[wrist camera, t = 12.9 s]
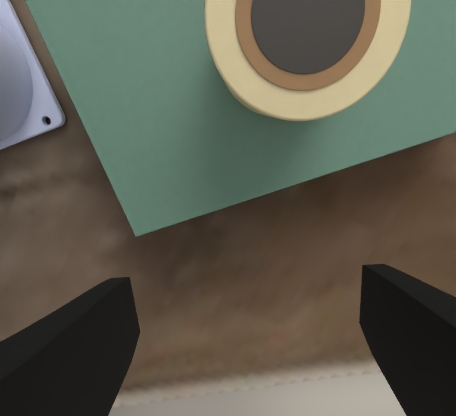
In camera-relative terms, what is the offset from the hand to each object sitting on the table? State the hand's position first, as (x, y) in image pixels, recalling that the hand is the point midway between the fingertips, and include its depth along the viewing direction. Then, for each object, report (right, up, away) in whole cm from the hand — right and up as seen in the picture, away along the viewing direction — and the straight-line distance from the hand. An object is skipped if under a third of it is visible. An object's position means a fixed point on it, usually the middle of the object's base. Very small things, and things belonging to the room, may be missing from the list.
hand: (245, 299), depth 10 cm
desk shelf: (+2, +11, +7) cm, 13 cm away
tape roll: (+2, +9, +3) cm, 10 cm away
